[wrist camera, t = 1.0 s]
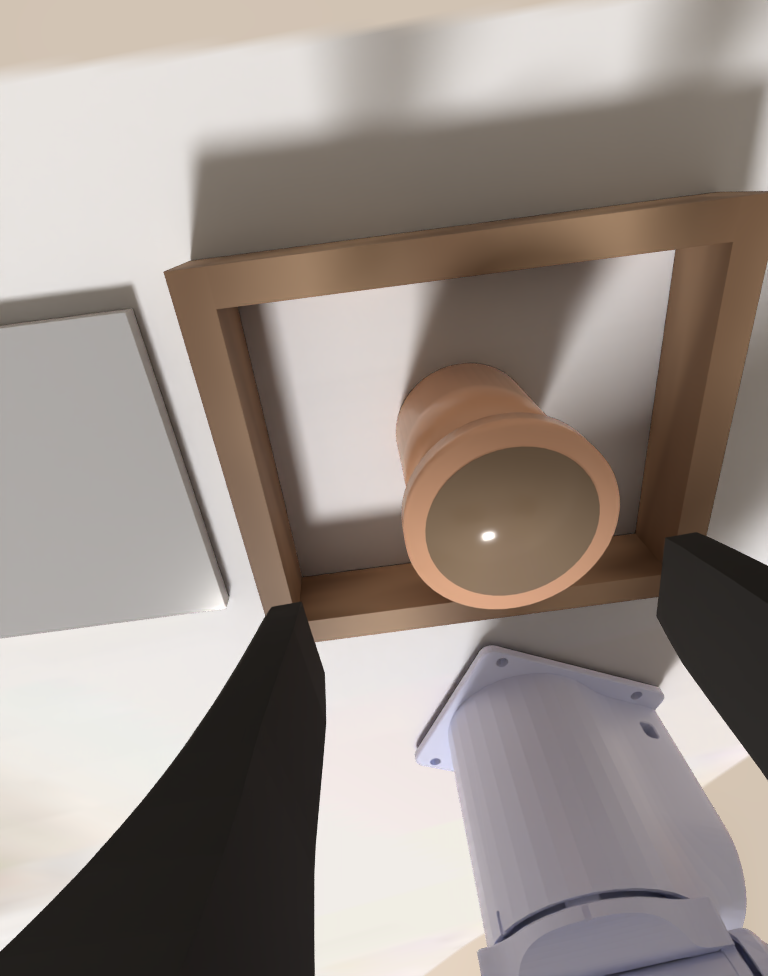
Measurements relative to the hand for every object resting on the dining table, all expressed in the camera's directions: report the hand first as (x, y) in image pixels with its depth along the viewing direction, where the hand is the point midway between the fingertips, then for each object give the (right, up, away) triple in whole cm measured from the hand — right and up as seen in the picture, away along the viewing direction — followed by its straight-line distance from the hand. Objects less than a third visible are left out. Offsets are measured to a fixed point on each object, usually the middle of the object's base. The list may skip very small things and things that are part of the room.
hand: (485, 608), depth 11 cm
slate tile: (-14, +2, +8) cm, 16 cm away
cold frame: (+1, +4, +7) cm, 9 cm away
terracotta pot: (+1, +4, +7) cm, 9 cm away
